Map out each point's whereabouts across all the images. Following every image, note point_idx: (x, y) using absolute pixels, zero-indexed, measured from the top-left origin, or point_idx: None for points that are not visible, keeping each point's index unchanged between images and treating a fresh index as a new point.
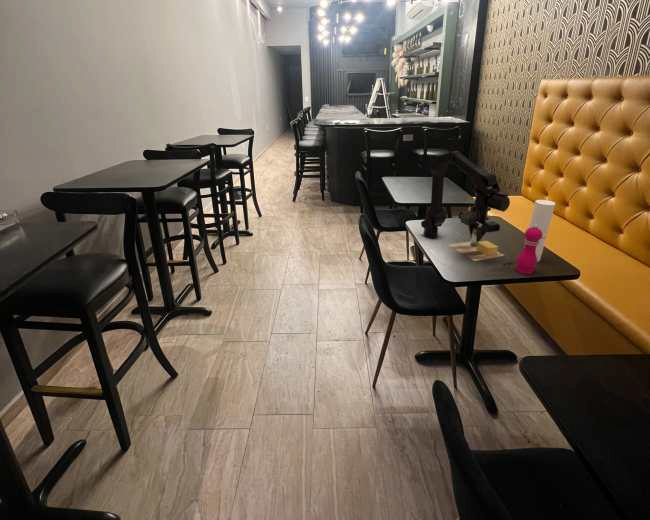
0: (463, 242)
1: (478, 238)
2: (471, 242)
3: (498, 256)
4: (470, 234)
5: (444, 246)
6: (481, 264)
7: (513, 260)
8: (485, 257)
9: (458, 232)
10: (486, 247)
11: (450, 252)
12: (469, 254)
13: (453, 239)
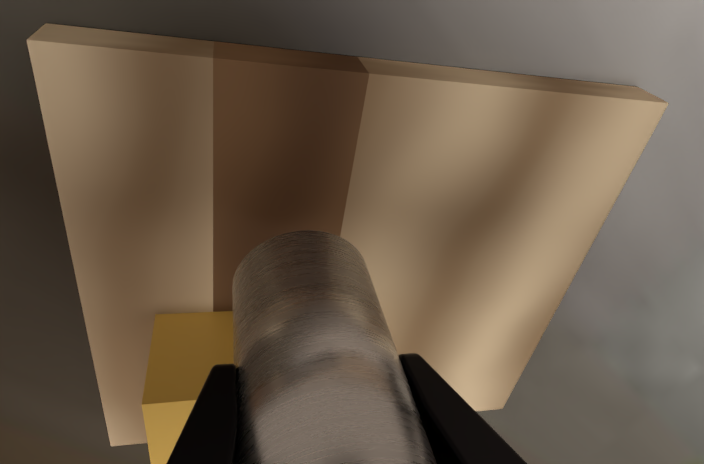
0: (552, 300)
1: (175, 452)
2: (320, 279)
3: (100, 393)
4: (467, 417)
5: (677, 88)
6: (16, 127)
7: (49, 451)
8: (115, 269)
9: (681, 380)
10: (194, 394)
11: (536, 17)
12: (286, 150)
13: (664, 282)
